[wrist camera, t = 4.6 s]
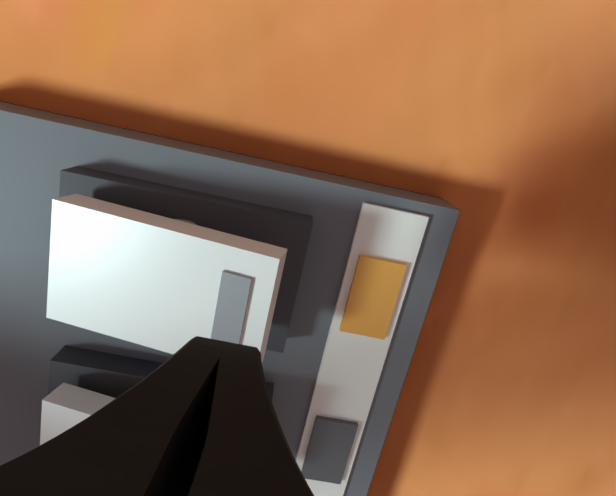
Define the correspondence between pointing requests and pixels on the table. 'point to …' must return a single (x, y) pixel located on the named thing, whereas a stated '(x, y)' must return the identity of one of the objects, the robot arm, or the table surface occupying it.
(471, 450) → the table surface
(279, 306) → the panel
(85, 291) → the rocker
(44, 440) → the rocker
